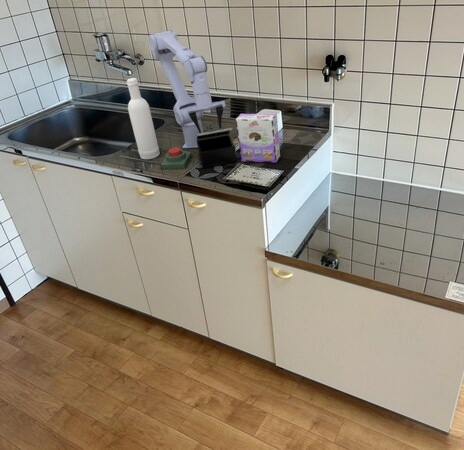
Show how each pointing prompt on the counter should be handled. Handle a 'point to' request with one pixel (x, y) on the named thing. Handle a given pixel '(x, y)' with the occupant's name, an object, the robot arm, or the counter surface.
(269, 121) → the candy box
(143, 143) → the bottle
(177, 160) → the green base
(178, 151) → the timer button
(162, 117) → the counter surface
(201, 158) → the black boxy piece
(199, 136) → the canister lid
